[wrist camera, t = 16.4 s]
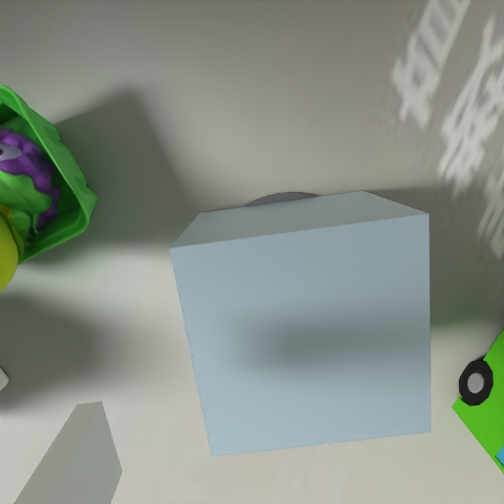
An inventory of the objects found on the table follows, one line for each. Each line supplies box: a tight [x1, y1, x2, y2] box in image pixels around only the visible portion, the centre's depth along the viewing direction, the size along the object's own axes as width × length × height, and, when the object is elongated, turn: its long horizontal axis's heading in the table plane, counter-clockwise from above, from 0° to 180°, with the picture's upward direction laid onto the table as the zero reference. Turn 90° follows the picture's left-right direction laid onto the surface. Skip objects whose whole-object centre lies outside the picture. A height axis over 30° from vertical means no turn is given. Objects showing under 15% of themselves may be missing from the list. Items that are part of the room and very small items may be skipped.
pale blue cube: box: [169, 191, 431, 457], centre depth 20 cm, size 10×10×9 cm
